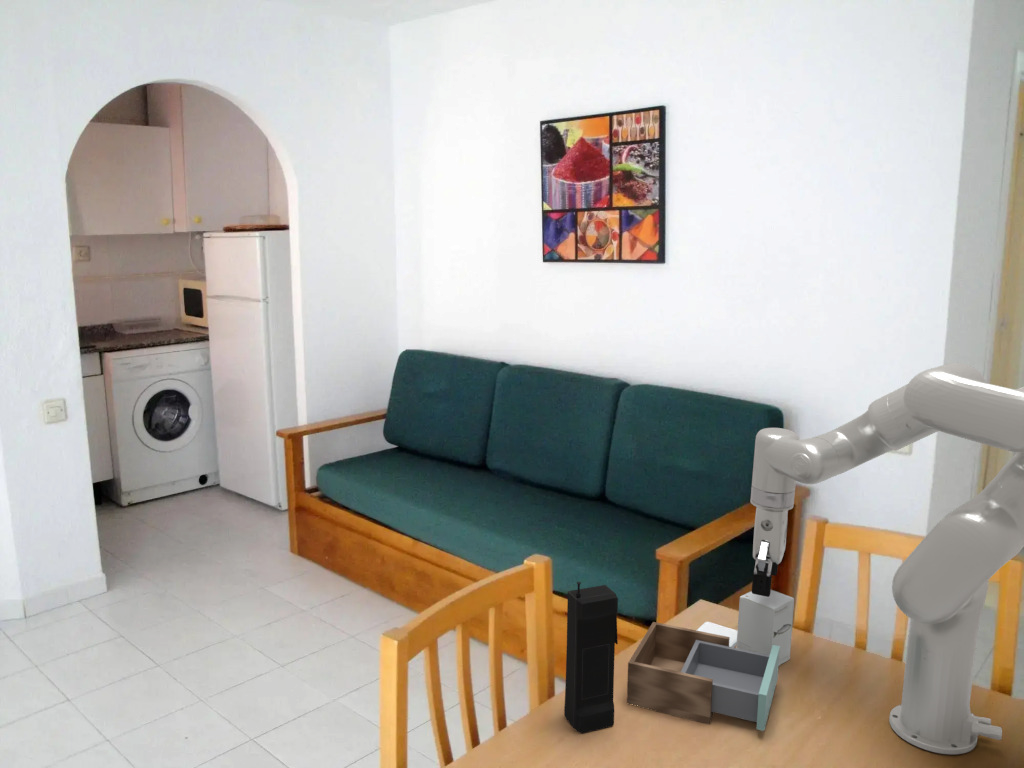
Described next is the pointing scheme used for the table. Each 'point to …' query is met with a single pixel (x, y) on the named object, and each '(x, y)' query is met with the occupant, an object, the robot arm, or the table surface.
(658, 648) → the box
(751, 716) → the drawer
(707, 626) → the external hard drive
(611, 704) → the portable radio
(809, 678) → the table surface
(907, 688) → the robot arm
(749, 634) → the supplement box
